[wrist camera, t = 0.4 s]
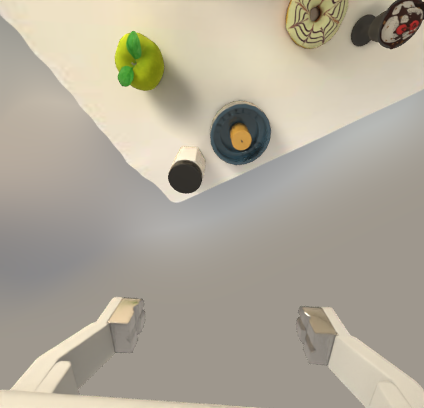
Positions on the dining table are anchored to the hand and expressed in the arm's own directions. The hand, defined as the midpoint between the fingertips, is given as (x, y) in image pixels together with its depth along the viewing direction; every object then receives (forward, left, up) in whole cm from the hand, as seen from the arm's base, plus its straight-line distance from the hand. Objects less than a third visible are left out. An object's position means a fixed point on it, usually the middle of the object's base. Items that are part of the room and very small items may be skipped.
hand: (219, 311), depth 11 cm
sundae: (-30, +17, -50) cm, 60 cm away
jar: (+14, 0, -50) cm, 52 cm away
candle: (0, +7, -49) cm, 49 cm away
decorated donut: (-26, +6, -50) cm, 56 cm away
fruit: (-1, -19, -50) cm, 53 cm away
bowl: (0, +7, -49) cm, 50 cm away
